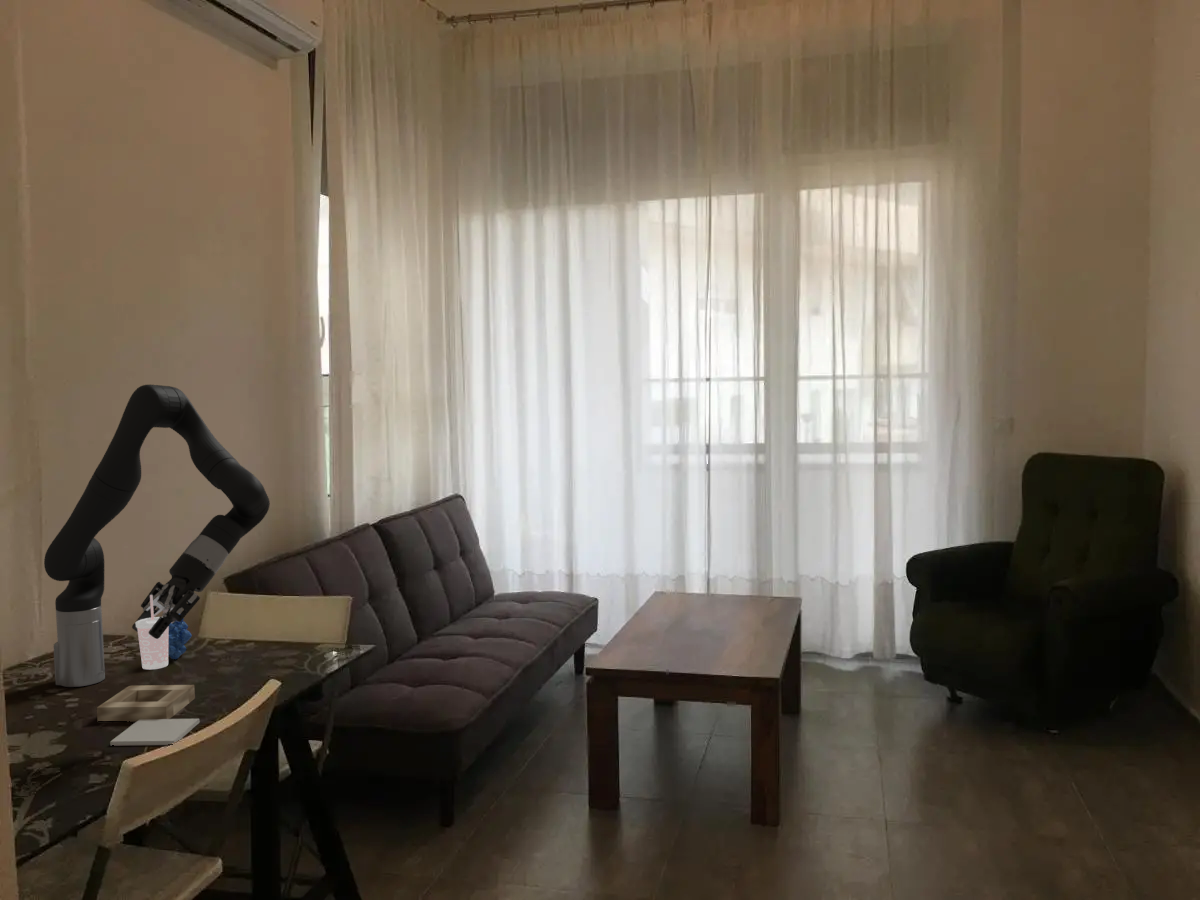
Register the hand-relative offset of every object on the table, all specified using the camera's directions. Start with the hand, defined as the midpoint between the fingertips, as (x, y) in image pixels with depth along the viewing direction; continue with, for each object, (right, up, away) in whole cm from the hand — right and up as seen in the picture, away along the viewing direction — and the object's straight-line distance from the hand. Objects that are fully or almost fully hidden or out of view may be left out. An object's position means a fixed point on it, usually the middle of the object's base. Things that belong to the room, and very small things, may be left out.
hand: (144, 633), depth 190 cm
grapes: (-16, -16, +53) cm, 58 cm away
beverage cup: (+1, -7, +2) cm, 7 cm away
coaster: (+1, -20, +3) cm, 20 cm away
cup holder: (-7, -19, +17) cm, 26 cm away
